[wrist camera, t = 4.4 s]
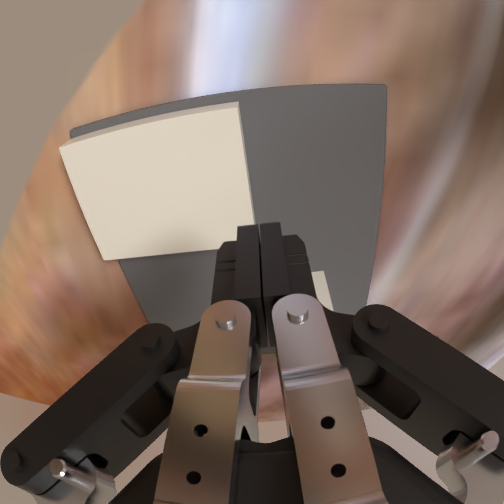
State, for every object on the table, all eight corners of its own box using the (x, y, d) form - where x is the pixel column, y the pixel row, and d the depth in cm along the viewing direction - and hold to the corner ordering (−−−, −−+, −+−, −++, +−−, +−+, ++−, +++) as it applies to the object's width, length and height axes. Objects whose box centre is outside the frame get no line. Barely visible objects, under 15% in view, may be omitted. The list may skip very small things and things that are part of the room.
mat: (383, 84, 14) (386, 85, 14) (357, 339, 28) (358, 343, 27) (72, 128, 16) (69, 130, 15) (168, 354, 29) (168, 357, 29)
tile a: (237, 107, 14) (58, 147, 14) (257, 245, 19) (104, 260, 19) (238, 100, 15) (73, 137, 16) (256, 228, 20) (112, 244, 21)
